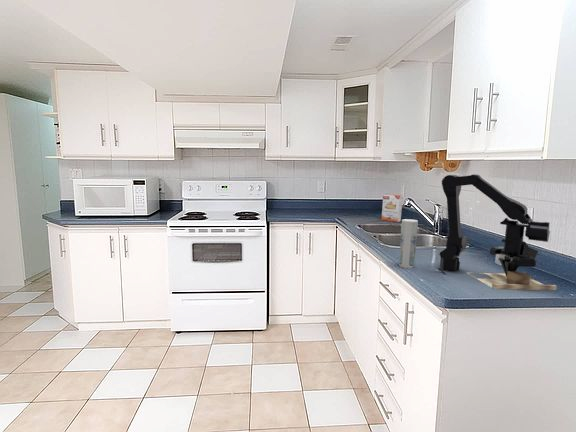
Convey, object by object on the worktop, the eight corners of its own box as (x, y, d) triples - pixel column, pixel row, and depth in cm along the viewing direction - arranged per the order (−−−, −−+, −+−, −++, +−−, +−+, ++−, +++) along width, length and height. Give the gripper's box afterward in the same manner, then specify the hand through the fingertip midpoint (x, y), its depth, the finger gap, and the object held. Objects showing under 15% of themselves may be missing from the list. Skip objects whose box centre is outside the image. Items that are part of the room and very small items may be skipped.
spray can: (400, 263, 161) (403, 218, 159) (415, 265, 158) (419, 220, 156) (397, 266, 156) (400, 220, 153) (412, 269, 153) (416, 221, 150)
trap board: (493, 291, 127) (493, 284, 126) (466, 275, 146) (466, 269, 145) (555, 293, 127) (556, 285, 127) (520, 276, 146) (521, 270, 146)
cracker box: (381, 220, 293) (382, 194, 290) (384, 219, 298) (386, 193, 295) (397, 222, 284) (399, 195, 281) (401, 221, 289) (402, 195, 286)
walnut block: (514, 287, 129) (516, 275, 128) (506, 282, 134) (507, 270, 133) (528, 287, 129) (530, 275, 128) (519, 283, 134) (521, 271, 133)
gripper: (554, 243, 125) (548, 287, 127) (519, 233, 143) (514, 272, 145) (522, 242, 124) (516, 287, 126) (491, 232, 143) (487, 271, 145)
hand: (509, 278), depth 136 cm, fingers closed
